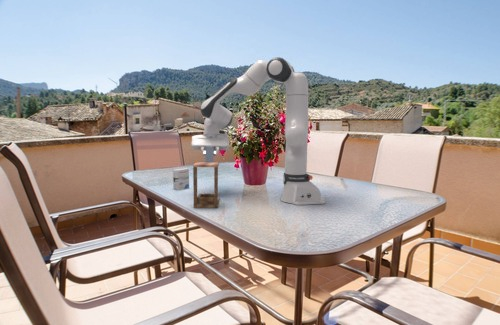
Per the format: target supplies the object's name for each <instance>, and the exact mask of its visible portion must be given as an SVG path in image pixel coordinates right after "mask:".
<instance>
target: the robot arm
mask: <svg viewBox="0 0 500 325" xmlns="http://www.w3.org/2000/svg"><path fill="white" fill-rule="evenodd" d="M269 80H271V81H273V82H275V83H278V84H281V85H284V86H285V119H284V120H285V123H284V139H285V152H284V153H285V154H284V172H283V175H282V176H283V178H282V179H283V180H282V182H283V186H282V188H283V189H282V193H281V195H280V196H281V197H280V201H281V202H284V203H287V204H292V205H295V206H304V205H306V206H307V205H324V204H326V198H324V197H322V195H321V194H322V193H321V190H320V188H319V187H317V186H316V184H314V183H313V182H312V180H313V178H314V177H313V175H311V174H308V173H307V170H308V166H307V165H308V141H309V140H308V138H309V83H308V82H309V81H308V78H307V76H306V74H304V73H302V72H299V71H298V72H295V69H294V67H293V66H292V65H291V63H290V62H289V61H287V60H286V59H284V58H283V57H280V56H279V57H273V58H271V59H270V60H269V61H267V60H265V59H258V60H256V61H255V62H254V63H253V64H251V66H250V67H249V68H247V71H246V72H245V73H243V74H242V75H240V76H238V77H237V78H236V77H233V78H231V79H229V80H228V81H227V82H226V83H225V84H223V85H222V86H221V87H220V88H219V89H217V91H216V92H213V94H212V95H211V96H210V97H208V98H206V99H205V100H203V102H202V103H201V105H200V114H201V115H202V117H204V118H205V119H204V129H203V134H194V135H193V136H191V144H190V146H191V149H192V151H201V152H202V156H205V157H206V146H214V157H216V156H217V154H218V153H219V152H220V151H229V150H230V138H229V135H228V132H227V130H226V131H225V130H223V129H226V128H228V127H229V126H231V124H232V123H233V118H234V116H233V112H232V111H230V110H229V109H227V108H226V107H225V106H224V105H222V104H221V103H220V102H221V101H223V99H225V98H226V97H227V96H228V95H230V94H232V93H233V94H240V95H244V96H253V95H255V94H256V93H258V91H259V90H261V89H262V87H263V86H264V85H265V84H266V82H267V81H269Z"/></svg>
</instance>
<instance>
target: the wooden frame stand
mask: <svg viewBox="0 0 500 325" xmlns="http://www.w3.org/2000/svg"><path fill="white" fill-rule="evenodd" d="M192 166H193V168H192V171H193V172H192V173H193V176H192V178H193V179H192V180H193V186H192V187H193V208H194V209H218V208H219V204H220V200H221V198H219V166H220V162H215V161H214V162H206V161H205V162H204V161H202V162H200V161H197V162H195V163H193V165H192ZM198 168H214V173H213V174H214V175H213V176H214V178H213V179H214V183H213V184H214V185H213V186H214V187H213V188H214V189H213V190H214V193H199V194H198Z"/></svg>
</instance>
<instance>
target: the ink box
mask: <svg viewBox="0 0 500 325" xmlns="http://www.w3.org/2000/svg"><path fill="white" fill-rule="evenodd" d="M172 179H173V180H172V182H173V183H172V184H173V188H172V189H173V190H175V191H181V190H185V189H189V188H190V169H189V168H184V167H183V168H177V169H176V168H175V169H173V170H172Z"/></svg>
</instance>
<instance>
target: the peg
mask: <svg viewBox="0 0 500 325" xmlns="http://www.w3.org/2000/svg"><path fill="white" fill-rule="evenodd" d="M205 151H206V156H205V162H215V156H214V151H215V150H214V146H206V150H205Z"/></svg>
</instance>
